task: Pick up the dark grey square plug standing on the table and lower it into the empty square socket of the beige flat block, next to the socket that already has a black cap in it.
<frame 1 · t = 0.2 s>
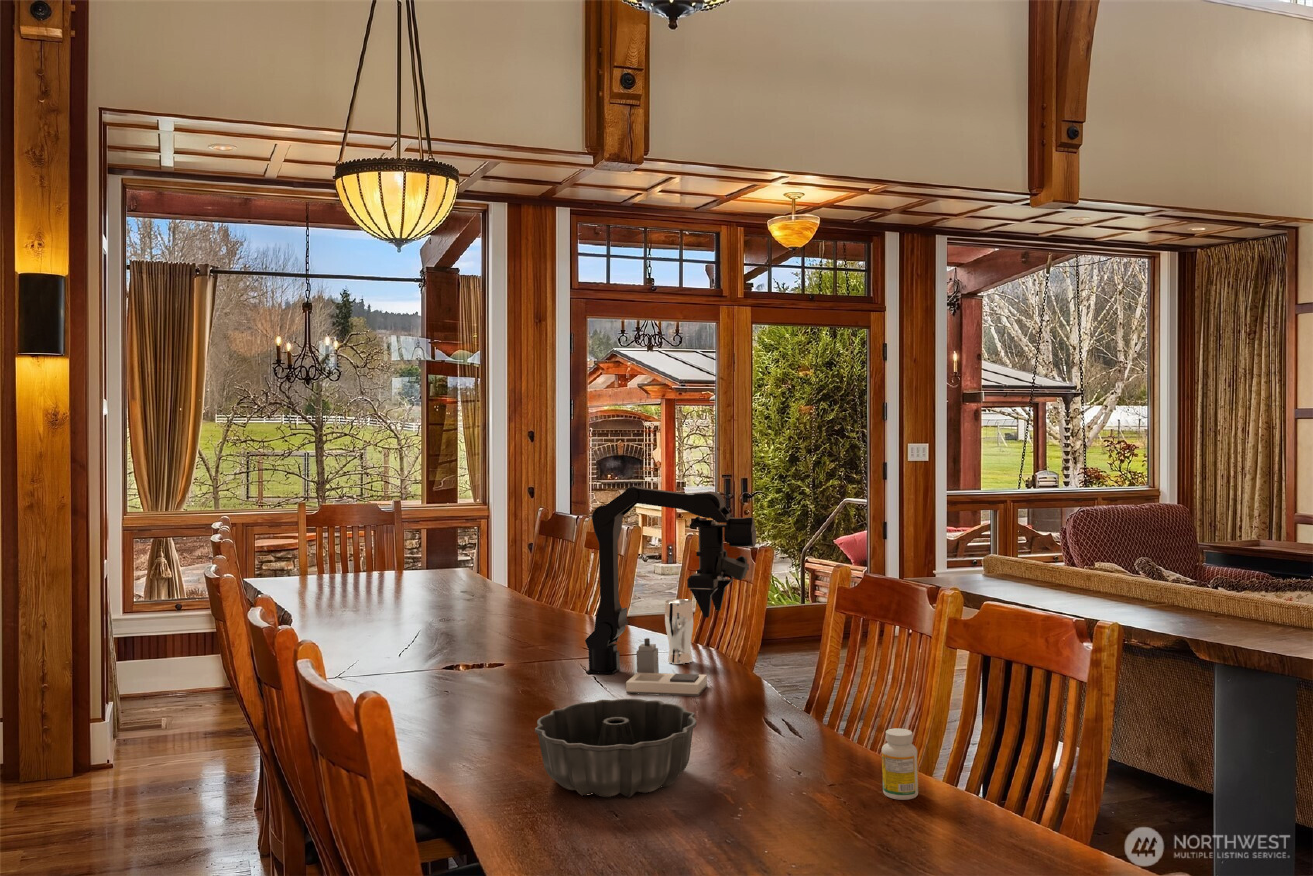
hand: (712, 613, 238), 14 cm above the table, tool pointing down, fingers open, 9 cm apart
beige flat block: (667, 689, 226), on the table
plug: (648, 680, 236), on the table
bundt pan: (618, 781, 168), on the table
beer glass: (680, 662, 253), on the table
supplement bottle: (900, 795, 158), on the table
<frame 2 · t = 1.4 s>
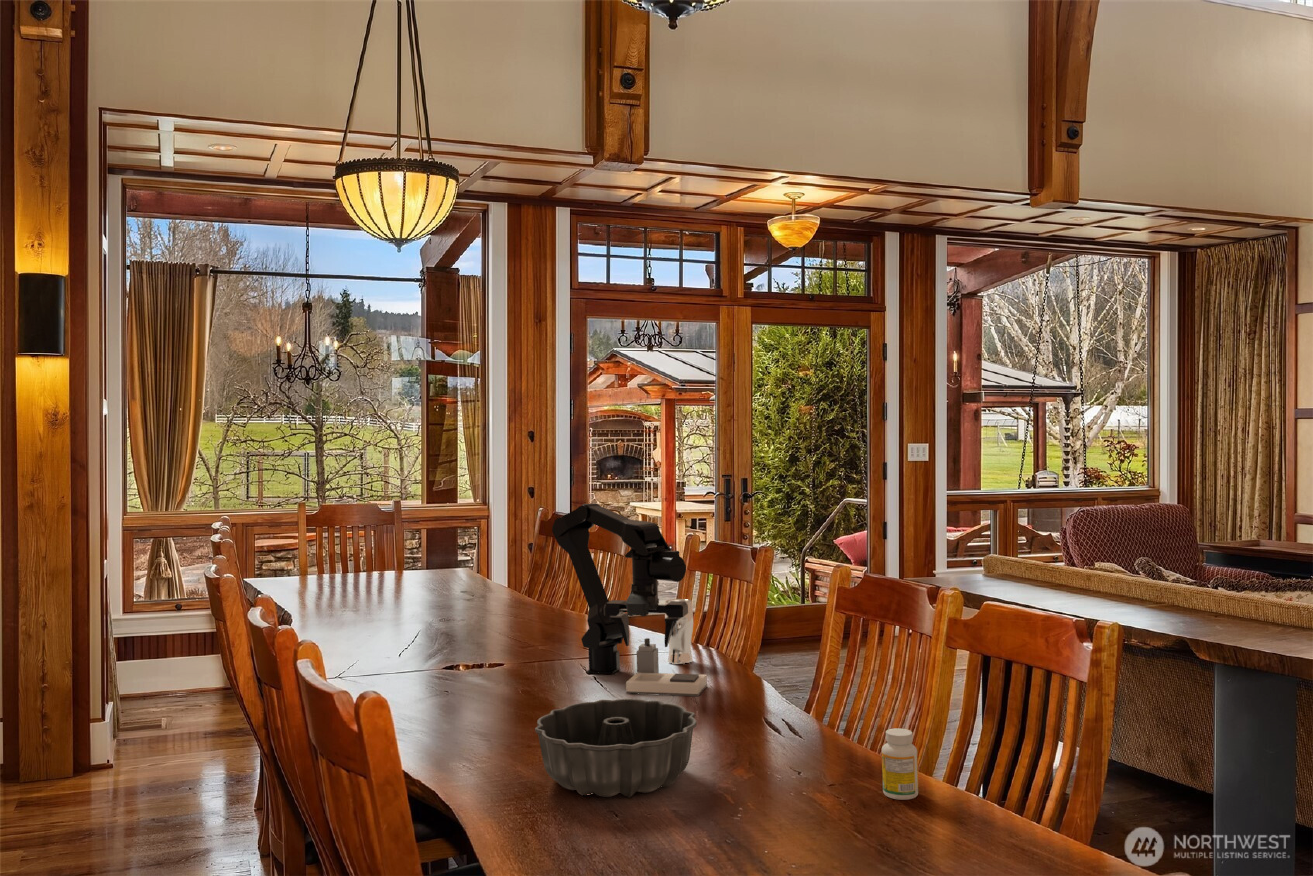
hand: (646, 646, 236), 8 cm above the table, tool pointing down, fingers open, 9 cm apart
nothing on the table moved.
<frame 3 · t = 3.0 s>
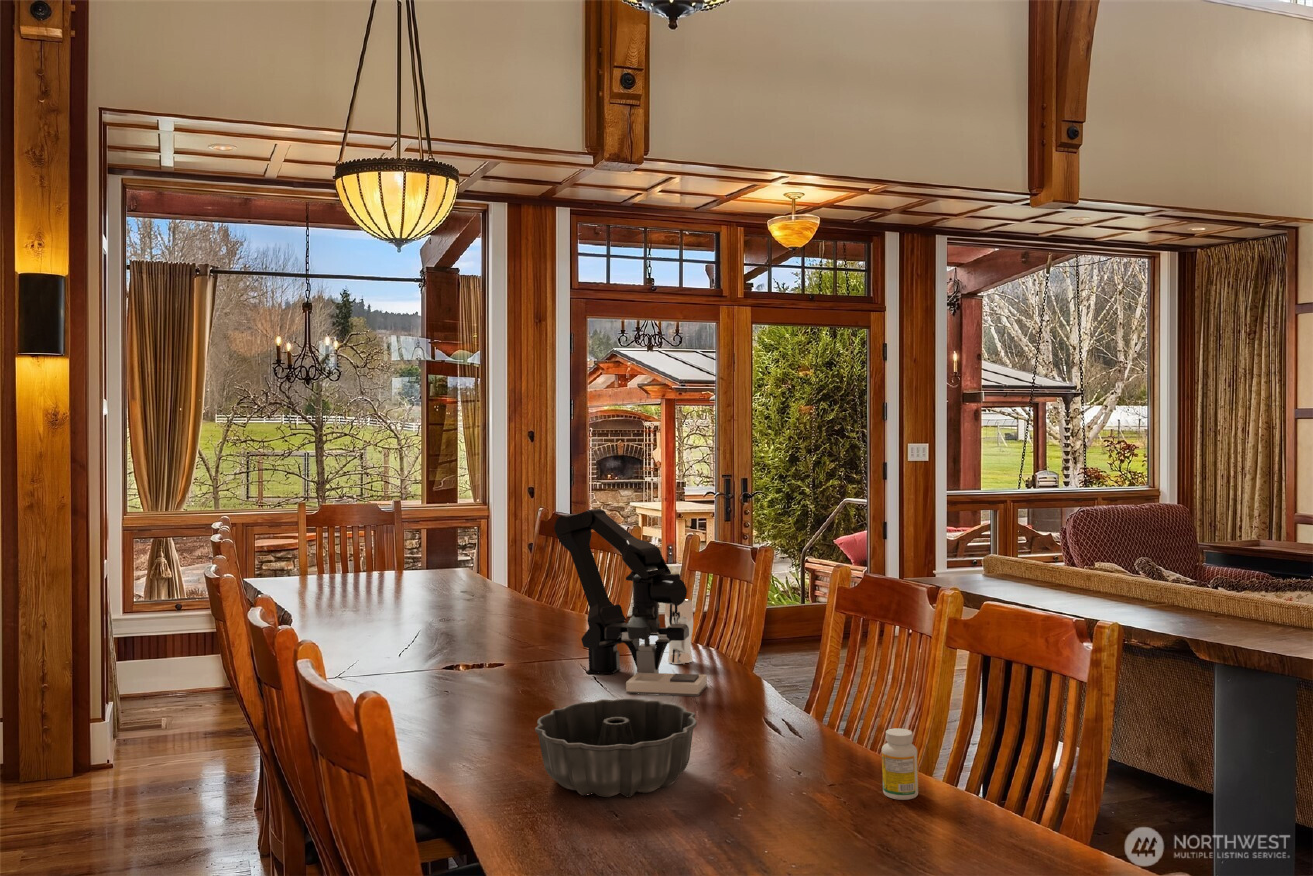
hand: (647, 669, 236), 3 cm above the table, tool pointing down, fingers closed on plug, 4 cm apart
plug: (648, 680, 236), on the table, touching gripper
everything else where it was.
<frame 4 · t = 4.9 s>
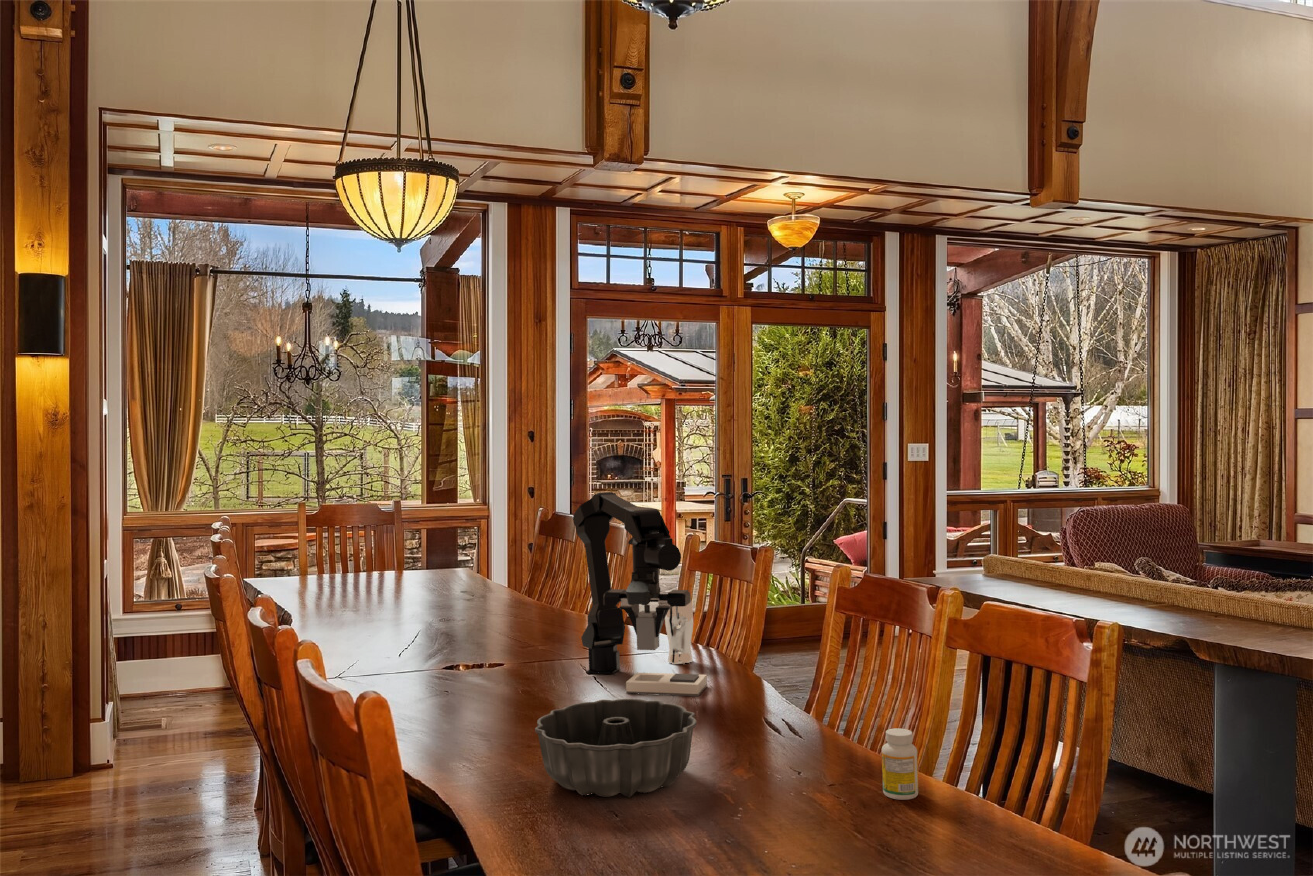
hand: (647, 636, 227), 12 cm above the table, tool pointing down, fingers closed on plug, 4 cm apart
plug: (648, 648, 227), point 9 cm above the table, touching gripper
everything else where it was.
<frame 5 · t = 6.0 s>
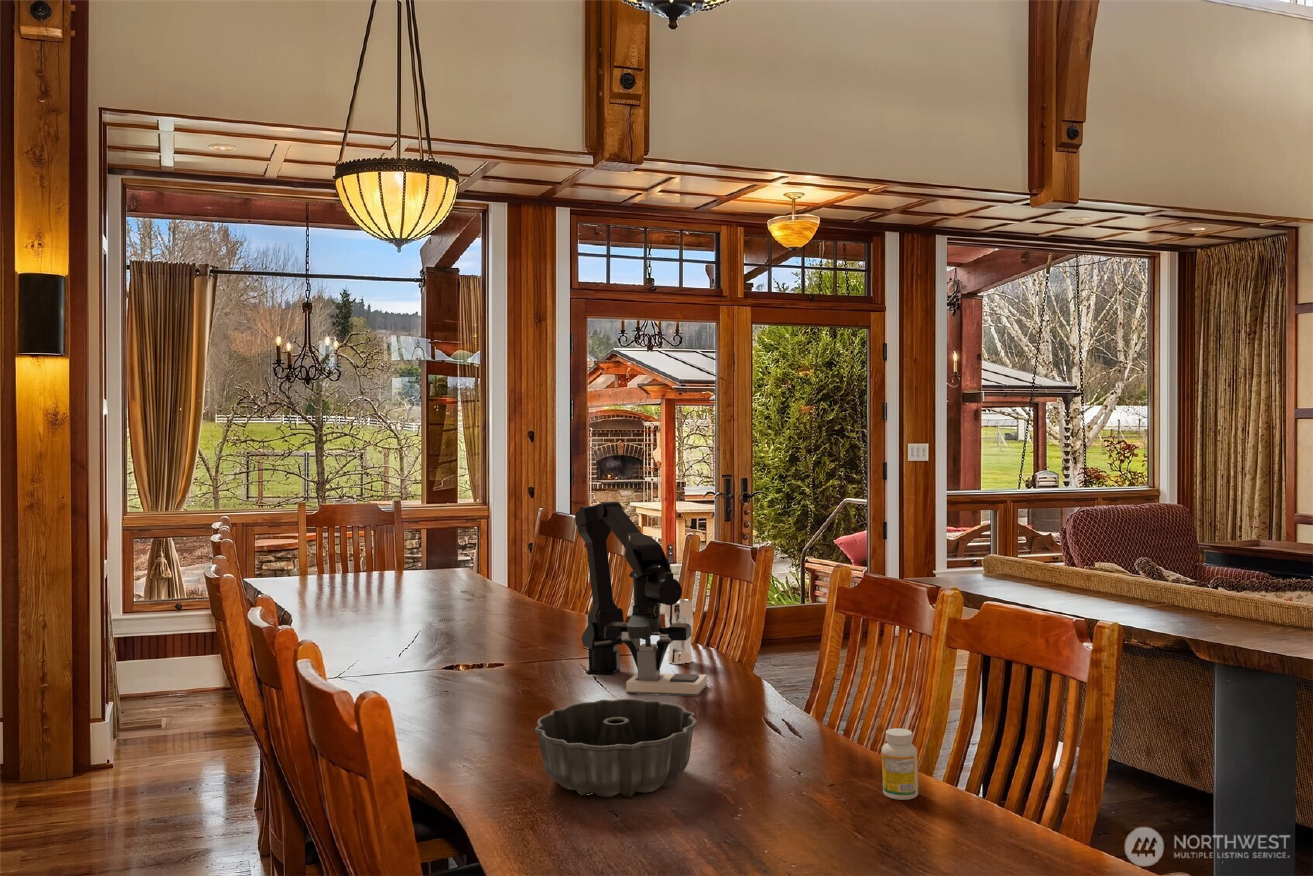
hand: (648, 670, 227), 4 cm above the table, tool pointing down, fingers closed on plug, 4 cm apart
plug: (649, 681, 227), point 2 cm above the table, touching gripper
everything else where it was.
when the fingers open (4 cm above the table, at t = 6.7 s): plug stays where it is, resting on beige flat block.
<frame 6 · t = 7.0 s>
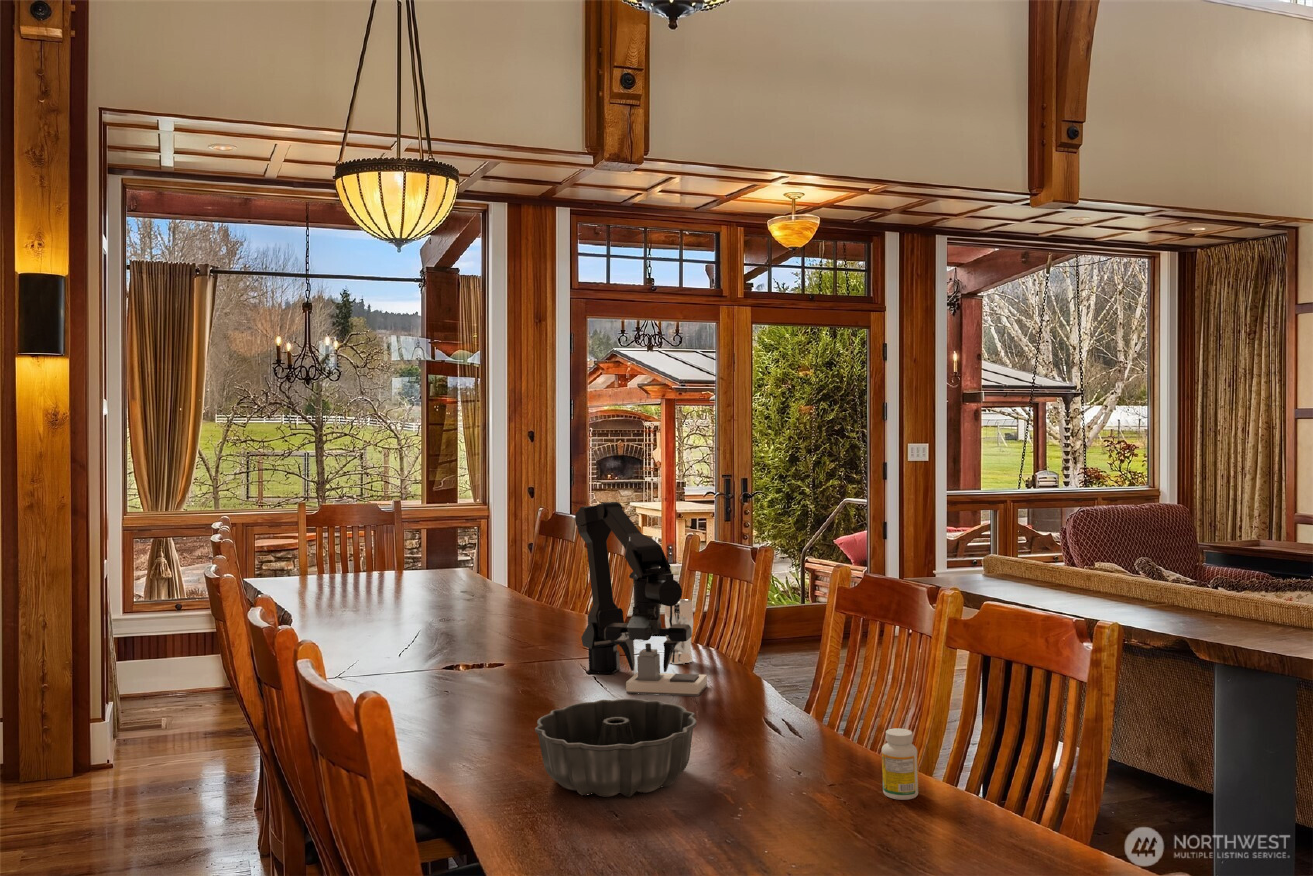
hand: (648, 671, 227), 4 cm above the table, tool pointing down, fingers open, 7 cm apart
plug: (649, 686, 227), resting on beige flat block
everything else where it was.
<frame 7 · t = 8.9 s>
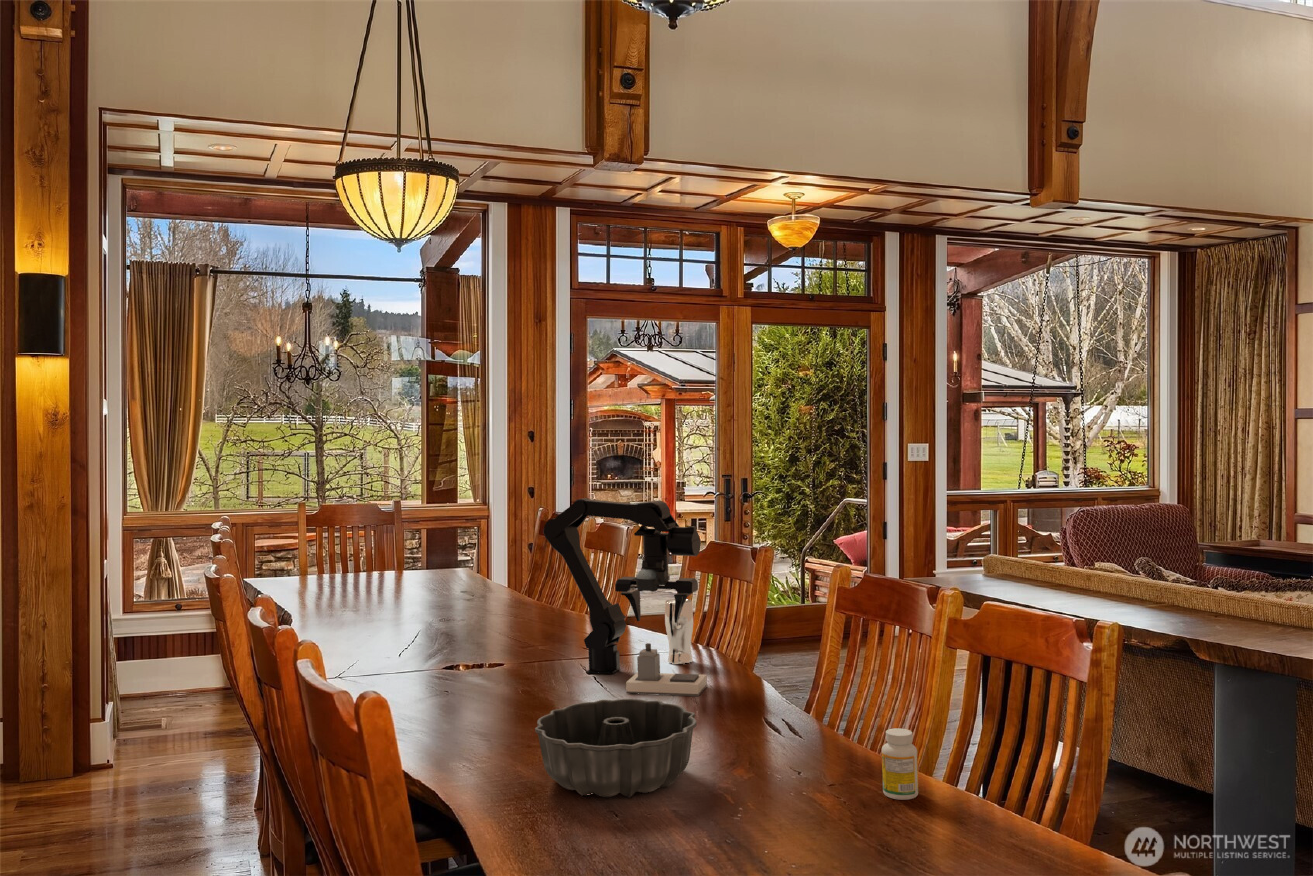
hand: (657, 621, 240), 12 cm above the table, tool pointing down, fingers open, 9 cm apart
nothing on the table moved.
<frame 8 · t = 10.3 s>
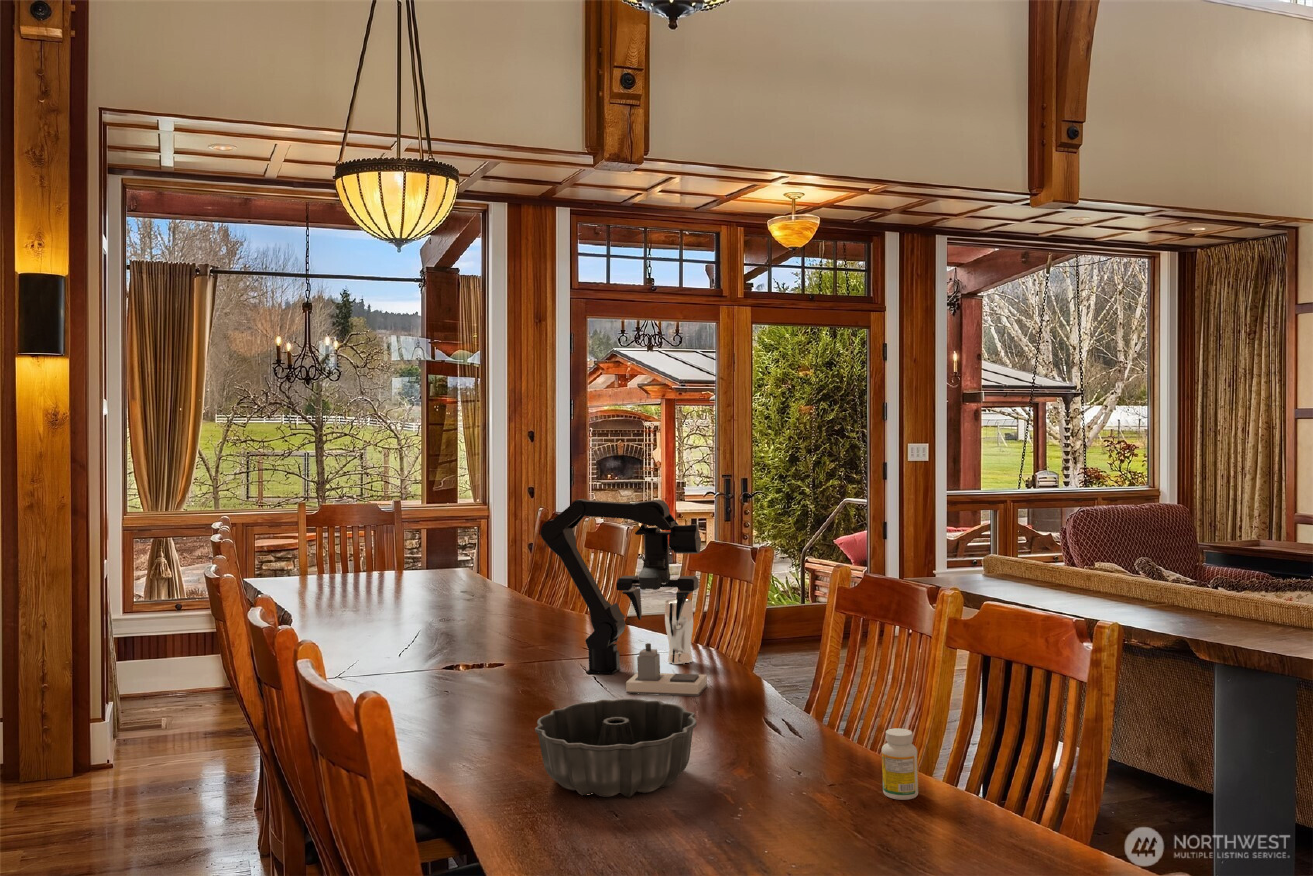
hand: (658, 620, 242), 13 cm above the table, tool pointing down, fingers open, 9 cm apart
nothing on the table moved.
at the end: plug 0.0 cm from the target spot on the beige flat block, point 0.5 cm above the beige flat block's base; plug tilted 0°; the gripper is holding nothing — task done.
